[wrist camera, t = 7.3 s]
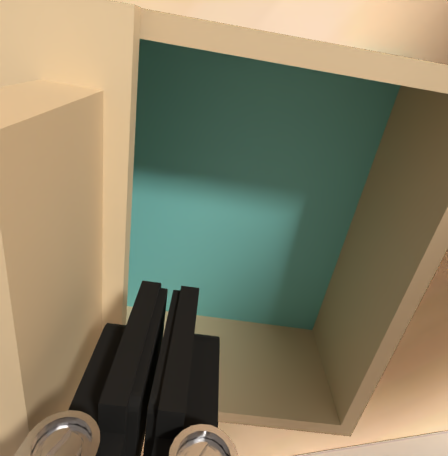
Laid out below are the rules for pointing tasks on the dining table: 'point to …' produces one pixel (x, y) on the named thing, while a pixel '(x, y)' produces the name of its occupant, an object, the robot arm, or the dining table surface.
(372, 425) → the dining table surface
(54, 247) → the lid
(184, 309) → the robot arm
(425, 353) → the dining table surface
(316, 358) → the base
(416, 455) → the packaging box
